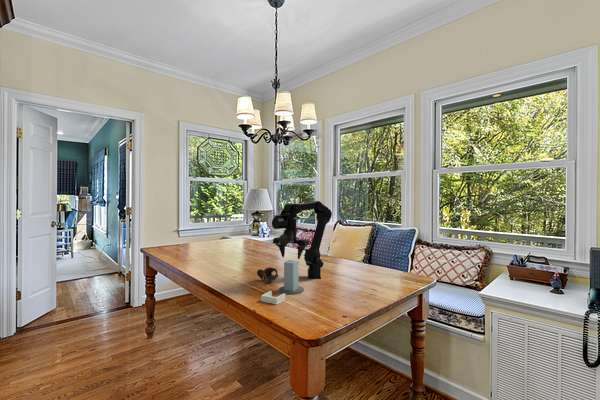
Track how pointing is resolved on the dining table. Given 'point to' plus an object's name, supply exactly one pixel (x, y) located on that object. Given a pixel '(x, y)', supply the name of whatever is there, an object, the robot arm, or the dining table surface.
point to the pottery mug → (267, 274)
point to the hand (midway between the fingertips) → (290, 258)
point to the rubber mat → (297, 291)
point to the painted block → (291, 275)
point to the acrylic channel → (272, 298)
